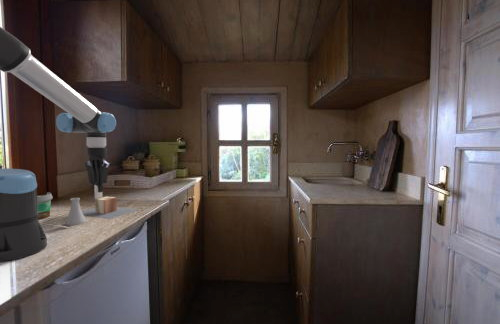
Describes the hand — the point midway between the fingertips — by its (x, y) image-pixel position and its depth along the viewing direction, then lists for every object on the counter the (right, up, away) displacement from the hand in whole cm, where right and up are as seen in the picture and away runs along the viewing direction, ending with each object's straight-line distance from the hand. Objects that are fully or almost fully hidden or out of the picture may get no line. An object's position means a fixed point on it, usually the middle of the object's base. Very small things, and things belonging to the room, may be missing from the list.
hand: (98, 199), depth 115 cm
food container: (-17, -7, -11) cm, 21 cm away
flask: (+1, -7, -17) cm, 19 cm away
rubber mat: (+4, -6, -1) cm, 7 cm away
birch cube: (+1, -2, 0) cm, 3 cm away
